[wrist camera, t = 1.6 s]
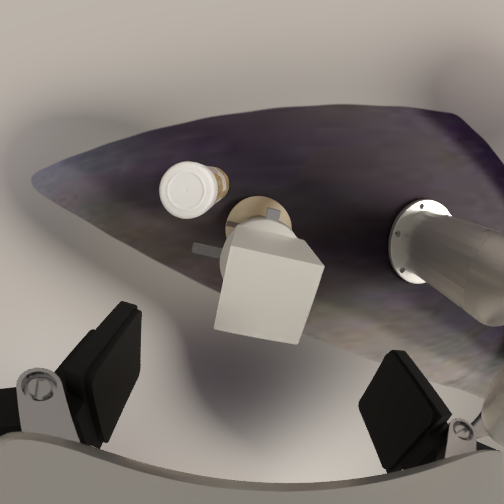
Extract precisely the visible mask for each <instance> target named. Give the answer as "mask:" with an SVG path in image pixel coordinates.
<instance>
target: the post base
mask: <svg viewBox="0 0 504 504" xmlns="http://www.w3.org/2000/svg"><path fill="white" fill-rule="evenodd" d="M267 207H269V208H273V209H277V210H280V211H281V213H280V217H279V221H281V222H282V223H284V224H285V225H287V226H288V227H289V228H290V229H291V230H292V225H291V220H290V217H289V215H288V213H287V212H286V210H285V209H284V208H283V207H282V206H281V205H280V204H279V203H278V202H276V201H275V200H273V199H271V198H268V197H264V196H252V197H249V198H246V199H244V200H242V201H240V202H239V203H238V204H237V205H236V206H235V207H234V208H233V209H232V211H231V212H230V214H229V216H228V218H227V221H226V227H225V232H226V238H227V237H228V235H229V234H230V232H231V231H232V230H233V229H234V228H235V227H236V226H237V225H238V224H240V223H241V222H243V221H245V220H248V219H250V218H255V217H265V216H266V212H267Z"/></svg>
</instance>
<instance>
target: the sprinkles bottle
mask: <svg viewBox="0 0 504 504" xmlns="http://www.w3.org/2000/svg"><path fill="white" fill-rule="evenodd" d="M228 189H229V180H228V177H227V175H226V174H225V173H224V172H223V171H222V170H221V169H219V168H217V167H210V166H204V165H202V164H200V163H196V162H181V163H178V164H175V165H174V166H172V167H171V168H169V169H168V170H167V171H166V173H165V174H164V176H163V177H162V179H161V182H160V187H159V194H160V199H161V202H162V204H163V206H164V207H165V208H166V210H167V211H168V212H169V213H171V214H172V215H174V216H176V217H179V218H183V219H191V218H195V217H198V216H200V215H202V214H204V213H205V212H206V211H208V210H209V209H210V208H211V207H212V206H213V205H214V204H215V203H217V202H218V201H219V200H221V199H222V198H224V197H225V195H226V194H227V192H228Z"/></svg>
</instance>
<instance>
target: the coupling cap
mask: <svg viewBox="0 0 504 504" xmlns="http://www.w3.org/2000/svg"><path fill="white" fill-rule="evenodd" d="M280 213H281V211H280V210H277V209H273V208H269V207H267V212H266V216H265V217H255V218H250V219H248V220H245V221H243V222H241V223H240V224H238V225H237V226H236V227H235V228H234V229H233V230H232V231H231V232H230V234H229V235H228V237H227V239H226V241H225V244H224V246H223V248H218V247H214V246H209V245H205V244H200V243H196V242H194V243H193V247H192V252H191V253H196V254H200V255H204V256H209V257H213V258H218V259H220V272H221V275H222V278H223V284H222V289H221V294H220V299H219V304H218V309H217V314H216V319H215V324H214V329H216V330H221V331H226V332H230V333H235V334H240V335H245V336H250V337H255V338H261V339H267V340H273V341H278V342H284V343H291V344H298V342H299V340H300V337H301V334H302V332H303V329H304V326H305V323H306V320H307V318H308V315H309V312H310V309H311V306H312V303H313V300H314V297H315V294H316V291H317V288H318V285H319V282H320V279H321V276H322V273H323V270H324V267H325V266H324V265H323V264H322V262H321V261H320V260H319V258H318V257H317V256H316V255H315V253H314V252H313V251H312V249H311V248H310V247H309V246H308V244H307V243H306V242H305V241H304V240H301V239H298V238H297V237H296V236H295V234H294V233H293V231H292V230H291V229H290V228H289V227H288V226H287V225H285V224H284V223H282V222H281V221H279V217H280Z"/></svg>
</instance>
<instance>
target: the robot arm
mask: <svg viewBox="0 0 504 504" xmlns="http://www.w3.org/2000/svg"><path fill="white" fill-rule="evenodd" d="M395 233H396V234H395ZM388 253H389V259H390V262H391V265H392V267H393V268H394V270H395V272H396V273H397V274H398V275H399V276H400V277H401V278H403V279H404V280H406V281H408V282H410V283H414V284H421V283H425V282H427V283H428V284H429V285H431V286H432V287H434V288H435V289H436V290H438V291H439V292H441V293H442V294H443V295H445V296H446V297H447V298H449V299H450V300H451V301H453V302H454V303H455V304H457V305H458V306H459V307H461V308H462V309H463V310H464V311H466V312H467V313H468V314H470V315H471V316H472V317H474V318H475V319H476V320H478V321H479V322H481V323H482V324H485V325H488V326H502V325H504V233H502V232H499V231H496V230H493V229H490V228H487V227H484V226H481V225H478V224H475V223H471V222H468V221H465V220H462V219H458V218H455V217H452V216H451V215H450V213H449V212H448V210H447V209H446V208H445V207H444V206H443V205H442V204H440V203H439V202H437V201H434V200H429V199H419V200H416V201H413V202H412V203H410V204H408V205H407V206H406V207H405V208H404V209H403V210H402V211H401V212H400V213H399V215H398V216H397V217H396V219H395V221H394V223H393V225H392V228H391V231H390V235H389V241H388ZM141 317H142V312H141V311H140V310H138V309H137V306H136V305H134V304H130V303H127V302H124V301H121V302H120V303H119V304H118V305H117V306H116V307H115V308H114V309H113V310H112V312H111V313H110V314H109V315H108V316H107V317H106V318H105V320H104V321H103V322H102V323H101V324H100V325H99V326H98V327H97V329H96V330H94V329H93V330H90V331H89V332H88V333H87V335H86V336H85V337H84V338H83V339H82V340H81V341H80V342H79V344H78V345H77V346H76V347H75V348H74V349H73V351H72V352H71V353H70V354H69V355H68V356H67V358H66V359H65V360H64V361H63V362H62V364H61V365H60V366H59V367H58V368H57V370H56V371H55V372H52V371H50V370H48V369H44V368H33V369H29V370H27V371H25V372H24V373H22V374H21V375H20V377H19V378H18V380H17V386H16V387H14V388H4V389H0V504H504V453H503V452H501V451H499V450H496V449H493V448H491V447H489V446H486V445H484V444H482V443H479V442H477V441H476V431H475V429H474V427H473V426H472V425H471V424H470V423H469V422H468V421H466V420H464V419H461V418H455V419H453V420H452V421H451V422H450V423H449V424H448V423H447V420H448V419H449V418H450V417H451V415H452V413H451V412H450V411H449V409H448V408H447V406H446V405H445V404H444V402H443V401H442V399H441V398H440V397H439V395H438V394H437V392H436V391H435V390H434V388H433V387H432V386H431V384H430V383H429V382H428V380H427V379H426V378H425V376H424V375H423V374H422V372H421V371H420V370H419V368H418V367H417V366H416V364H415V363H414V362H413V361H412V359H411V358H410V357H409V355H408V354H407V353H406V352H405V351H401V350H391V351H390V352H389V353H388V354H386V355H385V357H384V359H383V361H382V363H381V365H380V367H379V368H378V370H377V372H376V374H375V375H374V377H373V379H372V381H371V382H370V384H369V386H368V388H367V389H366V391H365V393H364V394H363V396H362V398H361V399H360V401H359V405H358V406H359V410H360V413H361V415H362V417H363V420H364V422H365V425H366V427H367V429H368V432H369V434H370V437H371V439H372V442H373V444H374V447H375V449H376V452H377V454H378V457H379V459H380V462H381V464H382V467H383V468H384V469H386V472H387V474H382V475H377V476H371V477H365V478H358V479H351V480H341V481H330V482H315V483H262V482H246V481H235V480H227V479H219V478H212V477H205V476H199V475H193V474H189V473H184V472H179V471H174V470H170V469H165V468H161V467H157V466H153V465H149V464H145V463H142V462H139V461H135V460H132V459H129V458H126V457H123V456H120V455H116V454H113V453H110V452H107V451H104V450H101V449H100V447H101V445H102V443H103V442H105V443H108V441H109V439H110V437H111V435H112V433H113V430H114V428H115V426H116V424H117V421H118V419H119V417H120V415H121V413H122V411H123V408H124V406H125V404H126V402H127V400H128V398H129V396H130V393H131V391H132V389H133V387H134V385H135V383H136V381H137V379H138V377H139V373H140V351H141V349H140V348H141ZM482 422H483V425H484V428H485V430H486V432H487V433H488V434H489V436H490V437H491V438H492V439H493V440H495V441H496V442H497V443H499V444H500V445H502V446H504V362H503V364H502V366H501V368H500V370H499V372H498V374H497V376H496V378H495V380H494V382H493V383H492V385H491V387H490V389H489V391H488V393H487V395H486V398H485V400H484V403H483V408H482ZM90 445H91V446H90ZM92 446H93V447H92ZM95 447H96V448H95ZM402 469H403V470H402Z"/></svg>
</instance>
